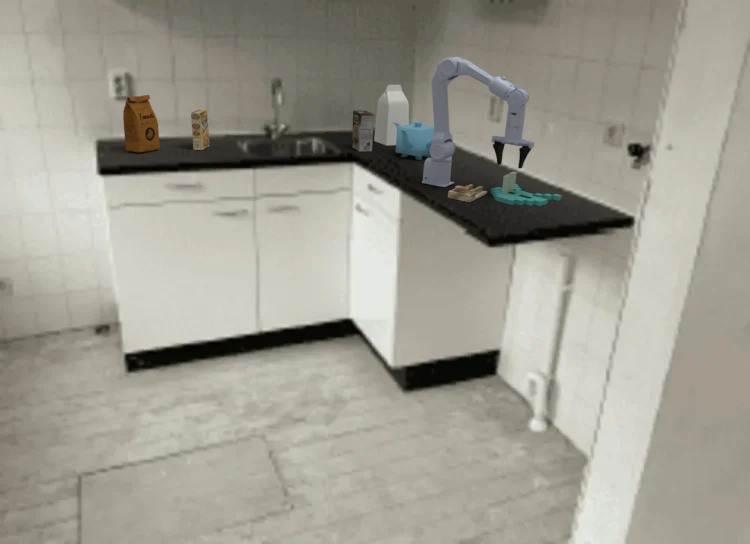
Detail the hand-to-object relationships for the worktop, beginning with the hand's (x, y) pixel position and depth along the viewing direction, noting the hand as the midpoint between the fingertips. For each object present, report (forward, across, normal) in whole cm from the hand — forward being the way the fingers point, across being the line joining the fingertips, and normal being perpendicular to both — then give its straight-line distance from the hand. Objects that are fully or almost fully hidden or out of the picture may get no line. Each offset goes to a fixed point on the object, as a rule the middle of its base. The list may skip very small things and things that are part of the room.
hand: (509, 166), depth 228 cm
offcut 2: (+10, -10, -14) cm, 20 cm away
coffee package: (+11, -142, -38) cm, 147 cm away
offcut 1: (+8, -10, -14) cm, 19 cm away
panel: (+9, +1, 0) cm, 9 cm away
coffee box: (+11, -80, +29) cm, 86 cm away
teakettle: (+11, -55, +32) cm, 64 cm away
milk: (+11, -79, +52) cm, 95 cm away
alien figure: (+11, +5, 0) cm, 12 cm away
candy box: (+11, -130, -18) cm, 132 cm away
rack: (+10, -10, -10) cm, 17 cm away
